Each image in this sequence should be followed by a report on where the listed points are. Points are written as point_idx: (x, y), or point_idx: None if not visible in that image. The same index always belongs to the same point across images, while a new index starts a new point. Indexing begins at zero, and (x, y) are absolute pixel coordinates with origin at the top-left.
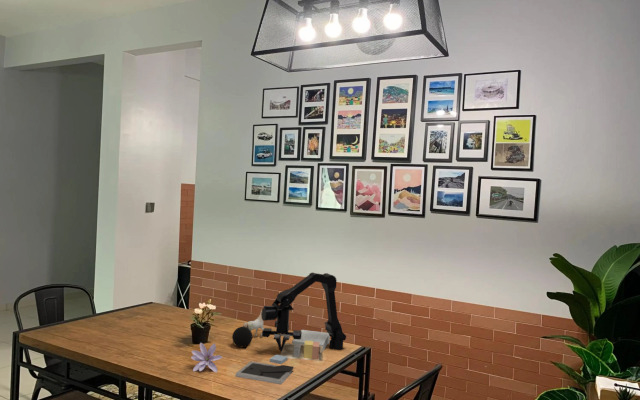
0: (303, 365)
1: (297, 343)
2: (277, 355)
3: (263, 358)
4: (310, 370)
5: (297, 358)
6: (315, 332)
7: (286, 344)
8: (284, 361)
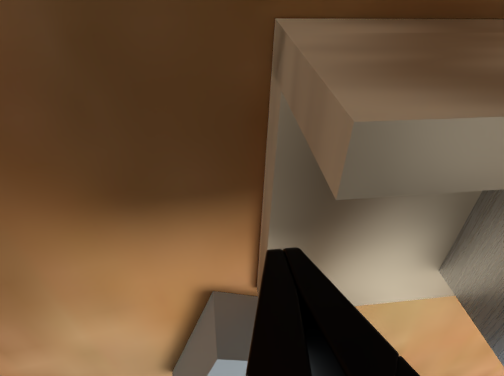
0: None
1: None
2: (240, 372)
3: (40, 287)
4: (490, 363)
5: None
6: None
7: (475, 185)
8: None
